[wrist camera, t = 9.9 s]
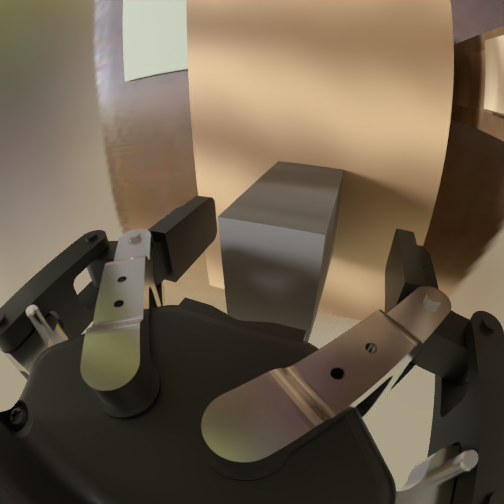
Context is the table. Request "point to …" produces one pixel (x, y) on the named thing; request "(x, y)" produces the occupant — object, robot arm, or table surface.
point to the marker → (494, 75)
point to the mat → (154, 37)
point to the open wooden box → (474, 85)
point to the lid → (316, 145)
